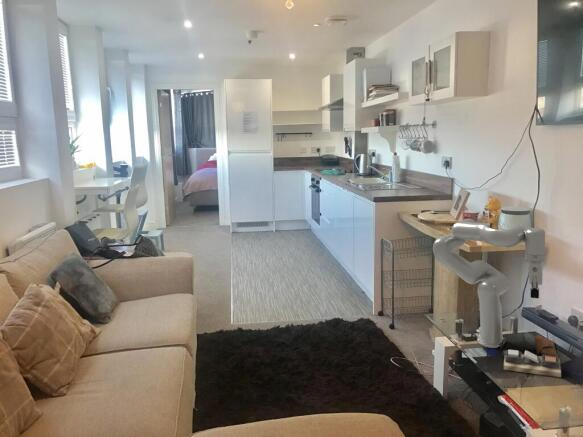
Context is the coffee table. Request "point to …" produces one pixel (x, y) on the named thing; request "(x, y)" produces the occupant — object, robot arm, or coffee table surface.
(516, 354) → the button left
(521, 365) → the switch panel
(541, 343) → the sunglasses case
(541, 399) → the coffee table surface
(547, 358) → the button right
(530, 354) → the rocker
